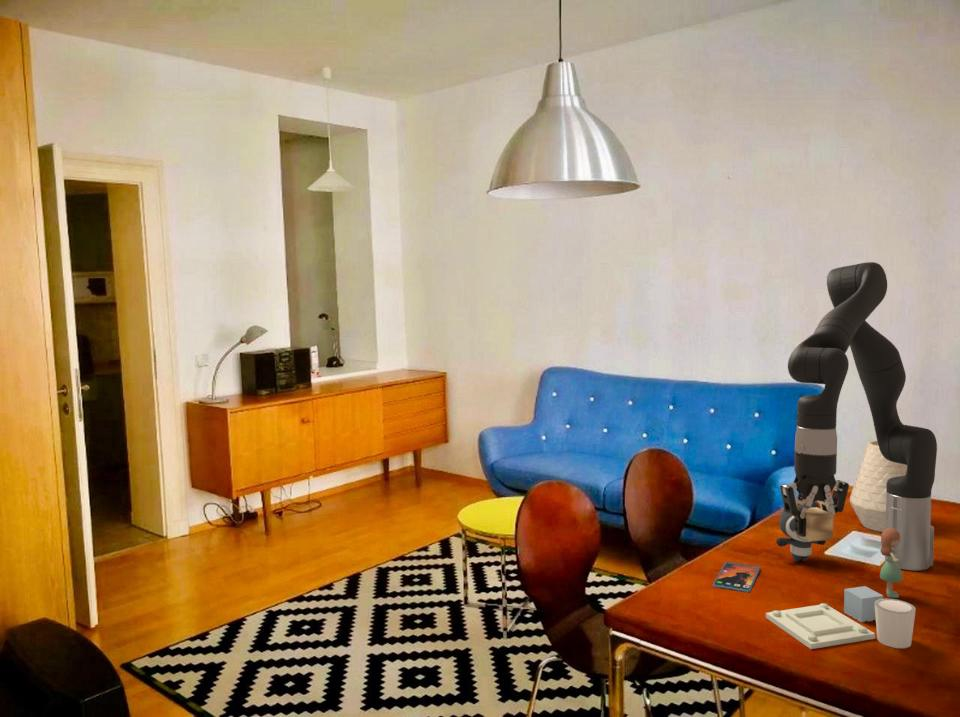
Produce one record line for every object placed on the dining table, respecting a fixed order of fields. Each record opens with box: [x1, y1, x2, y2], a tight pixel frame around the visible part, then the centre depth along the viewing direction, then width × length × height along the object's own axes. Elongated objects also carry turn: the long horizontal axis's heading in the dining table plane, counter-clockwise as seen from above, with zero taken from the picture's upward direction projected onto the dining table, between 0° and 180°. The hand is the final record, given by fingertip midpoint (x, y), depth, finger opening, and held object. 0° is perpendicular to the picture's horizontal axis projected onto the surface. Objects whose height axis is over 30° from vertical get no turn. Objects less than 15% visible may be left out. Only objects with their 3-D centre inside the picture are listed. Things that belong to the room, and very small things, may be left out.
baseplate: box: [765, 602, 876, 650], centre depth 149 cm, size 14×14×2 cm
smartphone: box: [712, 561, 761, 594], centre depth 175 cm, size 8×1×15 cm
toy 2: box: [879, 528, 904, 599], centre depth 161 cm, size 13×4×15 cm, turn 163°
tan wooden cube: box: [794, 507, 835, 541], centre depth 149 cm, size 5×5×5 cm
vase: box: [849, 440, 907, 533], centre depth 205 cm, size 18×17×23 cm
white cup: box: [875, 598, 916, 649], centre depth 142 cm, size 7×7×7 cm
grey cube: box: [843, 585, 884, 623], centre depth 153 cm, size 5×5×5 cm
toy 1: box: [775, 501, 827, 562], centre depth 182 cm, size 12×10×15 cm
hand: (813, 534), depth 149 cm, fingers closed on tan wooden cube, 5 cm apart
